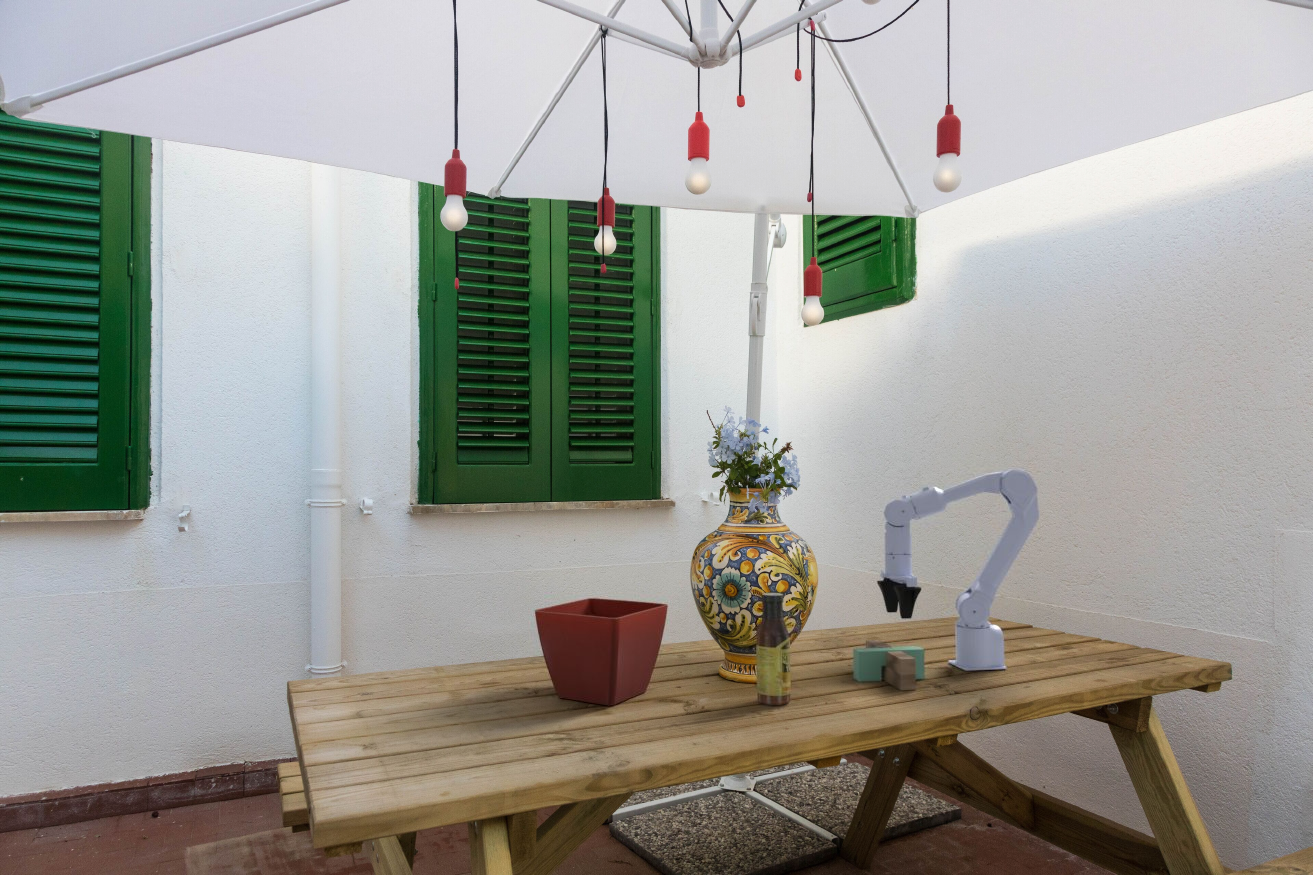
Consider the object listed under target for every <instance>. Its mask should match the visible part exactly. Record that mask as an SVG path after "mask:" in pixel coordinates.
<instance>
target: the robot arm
mask: <svg viewBox="0 0 1313 875" xmlns="http://www.w3.org/2000/svg"><path fill="white" fill-rule="evenodd" d="M983 493H988V494H997V495H1000V494H1001V496H1003V498H1004V499H1005V500H1006V501H1007V502H1006V503H1007V505H1008V507H1009V510H1010V513H1011V518H1010V519H1009V521H1008V523H1007V525H1006V526H1005V528H1004V530H1003V531H1002V533H1001V535H1000V537H999V538H998V540H997V542H996V544H995V546H994V547H993V549H992V551H991V552H990V553H989V555H988V557H987V559H986V561H985V563H984V564H983V566H982V568H981V569H980V571H979V573H978V575H977V576H976V578H975V579H974V580H973V581H972V582H971V583H970V585H969V587H968V588H967V589H966V590H965V591H963V592H961V593H960V594H959V595H958V596H957V598H956V600H955V609H956V611H957V613H958V615H959V617H958V619H956V621H954V624H955V625H954V626H955V629H954V630H955V632H954V633H955V637H954V638H955V659H952V660H951V659H949V660H947V663H949V664H950V665H952V666H955V667H957V668H959V669H961V670H962V671H963V670H964V671H967V672H968V671H986V670H987V671H989V670H1007V666H1006V665H1005V640H1004V639H1005V638H1004V633H1003V630H1002V629H1001V627H1000V626H998V625H997V624H992V623H991V622H990V621H989V619H990V616H991V606H992V605H993V602H994V600H995V598H996V595H997V592H998V589H999V588H1000V586H1001V584H1002V582H1003V580H1004V579H1005V577H1006V576H1007V574H1008V573H1009V571H1010V568H1011V567H1012V565H1013V564H1014V562H1015V560H1016V558H1017V557H1018V556H1019V554H1020V552H1021V550H1022V548H1023V547H1024V545H1025V544H1026V542H1027V540H1028V538H1029V536H1030V534H1031V533H1032V531H1033V530H1034V528H1035V526H1036V525H1037V523H1038V521H1039V518H1040V513H1039V512H1040V511H1039V502H1038V487H1037V485H1036V483H1035V481H1034V479H1033V477H1032V476H1031V474H1030V473H1029V472H1028V471H1026V470H1023V469H1020V468H1016V469H1015V468H1009V469H1005V470H1003V471H995V472H991V473H985V474H982V475H979V476H977V477H973V478H971V479H969V480H966V481H963V482H960V483H957V484H956V485H952V486H949V487H947V488H945V489H941V488H938V487H936V486H931V487H929V485H926V486H924V487H922V490H920V491H917V492H915V493H911V494H909V495H907V494H905V493H904V494H902V495H901V498H902V499H900V498H899V499H897V498H896V499H892V500H891V501H889V502H888V503H886V506H885V507H884V508H885V509H884V511H883V514H884V518H885V520H886V522H885V525H884V530H885V532H884V569H881V571H880V573H879V577H880V578H881V579H882V580H877V581H876V583H877V586H878V588H879V589H880V591H881V594H882V598H883V601H884V606H885V609H886V612H887V614H888V613H898V609H899V614H900V618H901V619H902V620H904V619H905V620H906V619H912V617H913V613H914V609H915V608H914V607H915V604H916V603H917V598H918V597H919V595H920V593H921V591H922V587H921V586H918V577H915V575H914V574H913V564H912V563H913V557H912V555H913V554H912V533H911V521H912V520H915V521H918V520H921V519H924V518H927V517H930V516H933V515H936V514H939V513H942V512H944V511H945V510H946V507H947V505H948V504H950V503H953V502H956V501H959V500H962V499H967V498H969V497H972V496H976V495H979V494H983Z"/></svg>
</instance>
